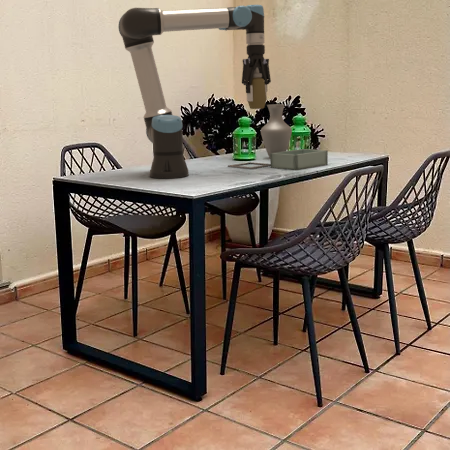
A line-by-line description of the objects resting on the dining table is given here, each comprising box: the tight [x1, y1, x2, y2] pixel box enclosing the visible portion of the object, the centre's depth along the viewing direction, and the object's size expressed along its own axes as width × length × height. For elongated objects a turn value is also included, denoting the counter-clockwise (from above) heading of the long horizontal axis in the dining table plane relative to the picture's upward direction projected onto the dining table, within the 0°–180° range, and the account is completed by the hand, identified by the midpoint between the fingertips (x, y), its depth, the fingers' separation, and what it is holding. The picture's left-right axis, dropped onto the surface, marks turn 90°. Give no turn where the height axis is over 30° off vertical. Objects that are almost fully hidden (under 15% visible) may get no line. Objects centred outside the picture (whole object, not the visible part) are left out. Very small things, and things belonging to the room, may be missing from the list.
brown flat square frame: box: [227, 161, 271, 170], centre depth 274 cm, size 14×14×1 cm
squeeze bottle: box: [247, 67, 267, 110], centre depth 266 cm, size 8×8×18 cm
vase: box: [260, 103, 293, 159], centre depth 297 cm, size 14×14×25 cm
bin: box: [269, 148, 329, 171], centre depth 269 cm, size 21×14×6 cm, turn 134°
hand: (256, 100), depth 267 cm, fingers closed on squeeze bottle, 8 cm apart
